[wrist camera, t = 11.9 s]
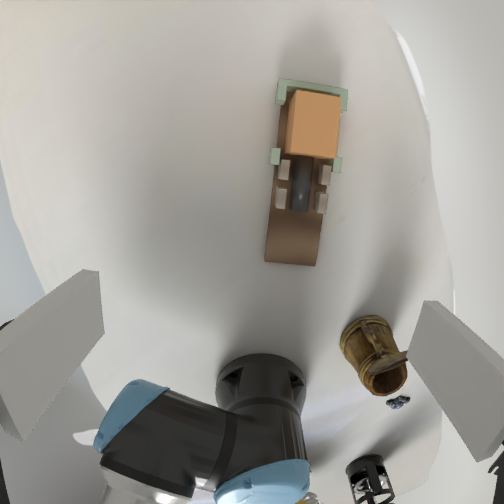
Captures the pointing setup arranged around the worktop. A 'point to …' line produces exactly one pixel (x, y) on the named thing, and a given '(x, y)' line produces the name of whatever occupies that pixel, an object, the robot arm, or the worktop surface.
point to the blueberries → (397, 402)
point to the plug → (310, 139)
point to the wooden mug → (374, 355)
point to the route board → (292, 222)
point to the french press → (369, 479)
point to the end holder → (316, 88)
